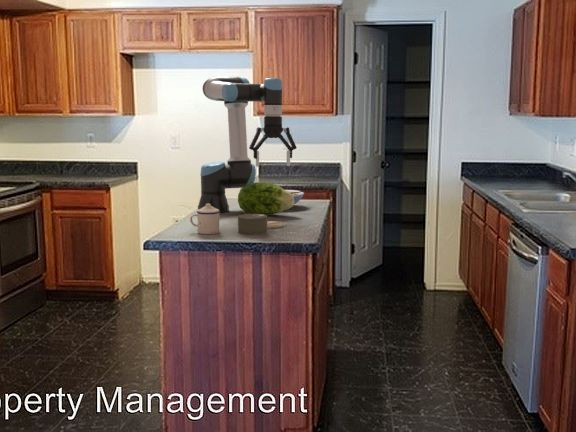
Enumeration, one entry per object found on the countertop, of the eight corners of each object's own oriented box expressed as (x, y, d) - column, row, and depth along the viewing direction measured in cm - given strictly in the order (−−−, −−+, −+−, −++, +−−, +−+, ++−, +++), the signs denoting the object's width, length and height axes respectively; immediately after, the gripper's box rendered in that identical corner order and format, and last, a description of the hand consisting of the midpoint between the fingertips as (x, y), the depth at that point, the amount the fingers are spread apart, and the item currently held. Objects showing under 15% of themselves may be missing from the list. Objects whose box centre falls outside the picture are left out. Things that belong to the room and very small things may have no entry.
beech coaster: (254, 226, 264) (254, 223, 264) (270, 223, 271) (270, 220, 271) (271, 229, 257) (271, 226, 257) (287, 226, 265) (287, 223, 264)
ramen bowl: (283, 201, 333) (283, 186, 331) (314, 206, 317) (315, 190, 316) (248, 207, 315) (248, 191, 314) (280, 212, 299) (280, 195, 298)
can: (231, 232, 252) (231, 215, 250) (256, 228, 259) (256, 212, 258) (248, 236, 242) (248, 219, 241) (273, 233, 249) (273, 216, 248)
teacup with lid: (221, 230, 254) (221, 202, 252) (217, 234, 245) (217, 205, 243) (192, 229, 255) (192, 201, 253) (187, 234, 246) (187, 205, 244)
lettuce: (292, 219, 281) (292, 185, 279) (234, 217, 285) (234, 183, 283) (296, 213, 296) (296, 181, 293) (241, 212, 300) (241, 180, 297)
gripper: (246, 115, 254) (246, 167, 258) (304, 116, 261) (303, 166, 265) (242, 115, 261) (242, 165, 265) (298, 115, 268) (298, 164, 272)
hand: (272, 166), depth 265 cm, fingers open, 13 cm apart
